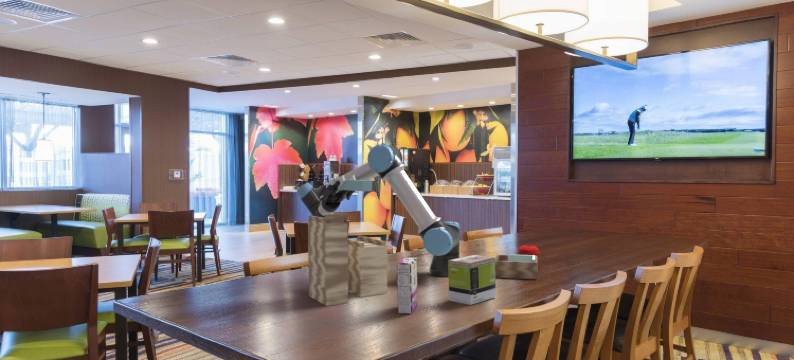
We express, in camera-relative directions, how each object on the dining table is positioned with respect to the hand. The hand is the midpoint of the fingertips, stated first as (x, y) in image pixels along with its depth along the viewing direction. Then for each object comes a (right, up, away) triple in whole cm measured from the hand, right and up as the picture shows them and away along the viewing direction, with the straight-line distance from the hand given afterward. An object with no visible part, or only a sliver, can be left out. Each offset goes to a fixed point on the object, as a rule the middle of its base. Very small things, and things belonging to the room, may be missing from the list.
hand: (349, 178), depth 215 cm
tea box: (+46, -43, -25) cm, 68 cm away
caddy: (+71, -42, +20) cm, 85 cm away
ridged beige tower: (+5, -43, -8) cm, 44 cm away
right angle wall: (+74, -42, +22) cm, 88 cm away
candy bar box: (+23, -44, -38) cm, 62 cm away
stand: (-5, -43, -23) cm, 50 cm away
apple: (+81, -42, +38) cm, 99 cm away
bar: (+1, -5, -2) cm, 5 cm away
